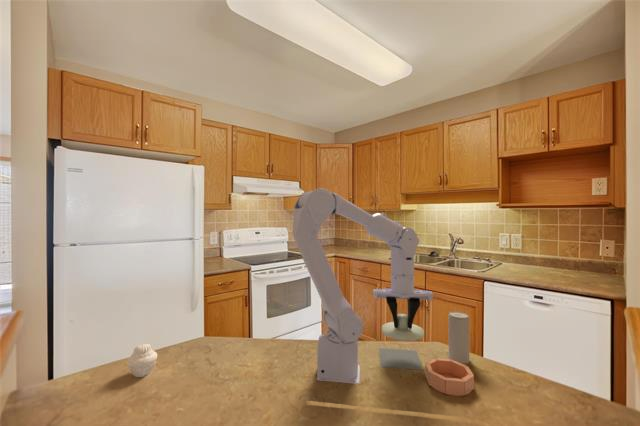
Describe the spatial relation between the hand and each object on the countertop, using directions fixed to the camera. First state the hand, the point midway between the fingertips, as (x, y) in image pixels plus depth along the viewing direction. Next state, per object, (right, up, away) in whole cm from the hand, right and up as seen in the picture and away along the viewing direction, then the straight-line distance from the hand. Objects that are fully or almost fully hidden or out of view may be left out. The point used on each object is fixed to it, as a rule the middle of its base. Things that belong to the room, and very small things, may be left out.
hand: (402, 327), depth 74 cm
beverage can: (+14, -9, 0) cm, 17 cm away
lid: (0, -1, 0) cm, 1 cm away
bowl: (+7, -9, -10) cm, 15 cm away
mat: (-1, -9, +1) cm, 9 cm away
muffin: (-63, -9, -5) cm, 64 cm away
